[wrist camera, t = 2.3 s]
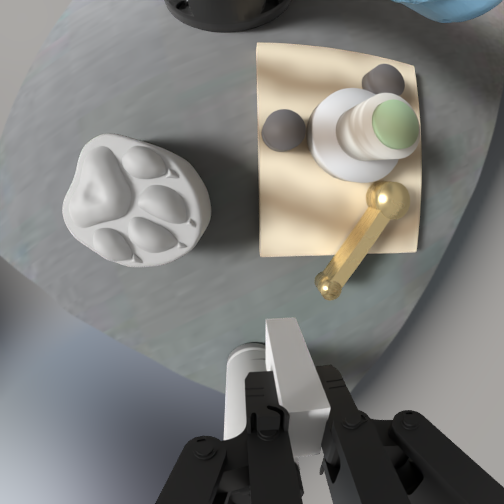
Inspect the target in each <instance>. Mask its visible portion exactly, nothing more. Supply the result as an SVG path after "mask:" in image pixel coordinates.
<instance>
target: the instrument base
mask: <svg viewBox="0 0 504 504" xmlns="http://www.w3.org/2000/svg"><path fill="white" fill-rule="evenodd" d="M256 64H257V113H258V174H259V252H260V256H261V257H278V256H312V255H335V254H336V253H337V251H338V250H339V249H340V247H341V246H342V244H343V243H344V242H345V240H346V239H347V237H348V236H349V235H350V233H351V232H352V230H353V229H354V227H355V226H356V224H357V223H358V221H359V220H360V219H361V217H362V216H363V214H364V213H365V211H366V210H367V208H368V206H367V203H366V193H367V190H368V188H369V187H370V185H371V184H373V183H374V182H376V181H392V182H399V183H401V184H403V185H404V186H405V187H406V188H407V190H408V192H409V195H410V206H409V209H408V211H407V213H406V214H405V215H404V216H403V217H402V218H400V219H397V220H392V219H390V220H389V222H388V224H387V225H386V227H385V228H384V230H383V231H382V233H381V234H380V235H379V237H378V238H377V240H376V241H375V243H374V244H373V246H372V247H371V249H370V250H369V251H368V253H367V254H376V253H406V252H416V251H417V242H418V232H419V220H420V204H421V173H422V159H421V128H420V113H419V102H418V92H417V83H416V76H415V69H414V66H412V65H409V64H405V63H402V62H398V61H394V60H390V59H386V58H382V57H377V56H373V55H368V54H363V53H358V52H352V51H346V50H340V49H333V48H326V47H318V46H309V45H298V44H283V43H257V48H256Z"/></svg>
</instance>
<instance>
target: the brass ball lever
mask: <svg viewBox="0 0 504 504" xmlns="http://www.w3.org/2000/svg"><path fill="white" fill-rule="evenodd" d="M366 203H367V206H368V208H367V210H366V211H365V213H364V214H363V216H362V217H361V219H360V220H359V221H358V223H357V224H356V226H355V227H354V229H353V230H352V232H351V233H350V235H349V236H348V237H347V239H346V240H345V242H344V243H343V244H342V246H341V247H340V249H339V250H338V251H337V253H336V254H335V256H334V257H333V258H332V260H331V261H330V263H329V264H328V265H327V267H326V268H325V269H324V271H323V272H320V273H319V274H318V275H317V276H316V277H315V285H316V287H317V288H318V290H319V291H320V293H321V294H322V296H323V297H324V298H325V299H326V300H334V299H336V298H338V297H339V295H340V294H341V290H342V287H343V286H344V284H345V283H346V282H347V280H348V279H349V278H350V276H351V275H352V274H353V272H354V271H355V270H356V268H357V267H358V265H359V264H360V263H361V261H362V260H363V258H364V257H365V256H366V254H367V253H368V251H369V250H370V249H371V247H372V246H373V244H374V243H375V241H376V240H377V238H378V237H379V235H380V234H381V233H382V231H383V230H384V228H385V227H386V225H387V224H388V222H389V220H390V219H392V220H397V219H400V218H402V217H403V216H404V215H405V214H406V213H407V211H408V209H409V206H410V195H409V192H408V190H407V188H406V187H405V186H404V185H403V184H401V183H399V182H392V181H376V182H374V183H373V184H371V185H370V187H369V188H368V190H367V193H366Z"/></svg>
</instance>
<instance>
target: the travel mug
mask: <svg viewBox="0 0 504 504" xmlns="http://www.w3.org/2000/svg"><path fill="white" fill-rule="evenodd" d="M265 361H266V345H263V344H259V343H247V344H243V345H241V346H239V347H237V348H235V349H234V350H233V351H232V352H231V353H230V355H229V357H228V360H227V375H226V398H225V423H224V440H228V439H231V438H234V437H236V436H238V435H239V434H241V433H242V432H243V431H244V429H245V427H246V403H245V378H246V376H247V375H248V373H249V372H260V371H267V369H266V363H265ZM294 462H295V467H296V472H297V477H298V482H299V487H300V492H301V497H302V496H303V494H304V491H303V486H302V481H301V476H300V471H299V470H300V468H299V462H298V457H294ZM227 504H251V499H250V486H247V487H244V488H241V489H237V490H234V491H231V494H230V497H229V500H228V503H227Z"/></svg>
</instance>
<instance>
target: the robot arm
mask: <svg viewBox="0 0 504 504" xmlns="http://www.w3.org/2000/svg"><path fill="white" fill-rule="evenodd" d="M164 1H165V3H166V5H167V7H168V9H169V11H170V12H171V13H172V14H173V15H174V16H175V17H176V18H177V19H178V20H180V21H181V22H183V23H185V24H187V25H189V26H192V27H195V28H198V29H202V30H207V31H215V32H233V31H241V30H246V29H251V28H255V27H258V26H260V25H263V24H265V23H268V22H270V21H271V20H273V19H275V18H276V17H278V16H279V15H280V14H281V13H283V12H284V11H285V9H286V8H287V7H288V6H289V4H290V2H291V0H164ZM391 1H394V2H396V3H401V4H403V5H405V6H407V7H408V8H410V9H412V10H414V11H416V12H417V13H419V14H421V15H422V16H424V17H426V18H428V19H430V20H433V21H437V22H442V23H451V22H463V21H467V20H471V19H473V18H476V17H478V16H481V15H483V14H485V13H486V12H488V11H490V10H491V9H493V8H494V7H496V6H497V5H498V4H499V3H501V2H502V1H503V0H391ZM265 363H266V369H267V371H260V372H249V373H248V375H247V376H246V378H245V403H246V427H245V429H244V431H243V432H242V433H241V434H239V435H238V436H236V437H234V438H231V439H228V440H224V441H220V440H219V439H217V438H214V437H211V436H200V437H195V438H194V439H192V440H190V441H188V443H187V444H186V445H185V447H184V449H183V450H182V452H181V454H180V456H179V458H178V460H177V462H176V464H175V466H174V468H173V470H172V472H171V474H170V476H169V478H168V480H167V482H166V484H165V486H164V488H163V489H162V491H161V493H160V495H159V497H158V499H157V501H156V503H155V504H227V503H228V500H229V497H230V494H231V491H234V490H237V489H241V488H244V487H247V486H250V499H251V504H303V503H302V497H301V492H300V487H299V482H298V477H297V472H296V467H295V462H294V457H302V456H309V455H317V454H320V451H321V447H322V449H323V453H324V458H323V462H322V465H321V468H320V475H322V474H323V472H324V471H325V475H326V479H327V482H328V486H329V489H330V493H331V497H332V500H333V504H504V488H503V486H501V485H500V484H499V483H498V482H497V481H495V480H494V479H493V478H492V477H491V476H490V475H489V474H488V473H487V472H485V471H484V470H483V469H482V468H481V467H480V466H479V465H478V464H477V463H475V462H474V461H473V460H472V459H471V458H470V457H469V456H468V455H466V454H465V453H464V452H463V451H462V450H461V449H460V448H459V447H457V446H456V445H455V444H454V443H453V442H452V441H451V440H450V439H448V438H447V437H446V436H445V435H444V434H443V433H442V432H441V431H440V430H438V429H437V428H436V427H435V426H434V425H433V424H432V423H431V422H429V421H428V420H427V419H426V418H425V417H424V416H423V415H421V414H420V413H418V412H415V411H412V410H405V411H401V412H399V413H398V414H396V415H395V416H394V419H393V420H374V419H370V418H369V417H368V415H367V414H366V413H364V412H362V411H360V410H358V409H357V407H356V405H355V403H354V401H353V399H352V397H351V394H350V392H349V390H348V388H347V387H346V384H345V382H344V380H343V378H342V376H341V374H340V372H339V371H338V370H337V369H336V368H335V367H333V366H332V365H325V366H316V367H315V366H314V363H313V361H312V358H311V356H310V353H309V350H308V348H307V345H306V343H305V340H304V338H303V335H302V333H301V330H300V328H299V325H298V323H297V320H296V318H295V317H294V318H275V319H266V361H265Z"/></svg>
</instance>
